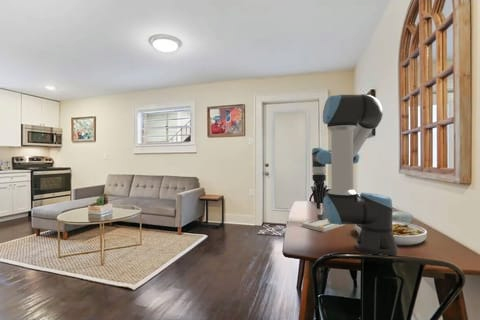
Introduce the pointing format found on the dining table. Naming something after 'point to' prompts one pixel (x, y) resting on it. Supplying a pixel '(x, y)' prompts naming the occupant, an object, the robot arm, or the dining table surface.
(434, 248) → the dining table surface
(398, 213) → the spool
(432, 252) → the dining table surface
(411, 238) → the bowl
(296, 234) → the dining table surface
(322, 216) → the tab charcoal
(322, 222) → the switch board
